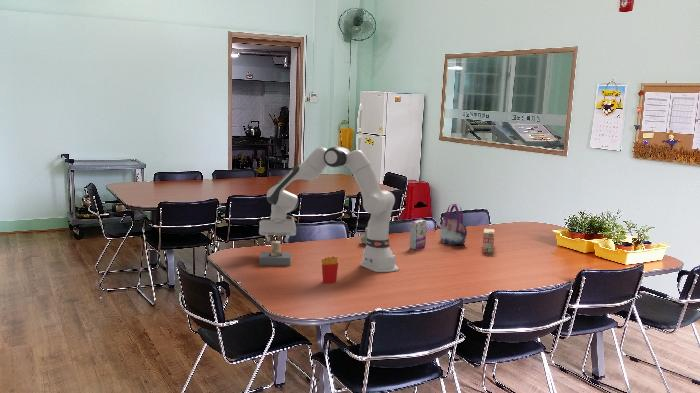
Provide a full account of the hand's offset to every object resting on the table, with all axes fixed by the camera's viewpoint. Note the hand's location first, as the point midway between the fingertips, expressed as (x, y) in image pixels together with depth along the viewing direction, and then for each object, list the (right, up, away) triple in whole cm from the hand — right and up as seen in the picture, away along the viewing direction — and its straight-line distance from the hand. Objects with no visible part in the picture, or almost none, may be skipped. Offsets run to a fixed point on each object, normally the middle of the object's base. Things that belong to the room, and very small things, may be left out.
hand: (277, 241), depth 320 cm
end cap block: (0, -10, -11) cm, 15 cm away
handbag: (+104, -5, +51) cm, 116 cm away
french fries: (+30, -16, -42) cm, 54 cm away
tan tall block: (0, -9, -11) cm, 14 cm away
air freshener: (+51, -5, +40) cm, 65 cm away
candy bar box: (+80, -7, +35) cm, 88 cm away
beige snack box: (+124, -8, +39) cm, 130 cm away
